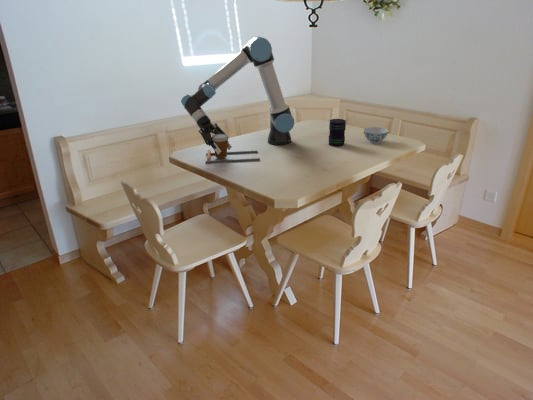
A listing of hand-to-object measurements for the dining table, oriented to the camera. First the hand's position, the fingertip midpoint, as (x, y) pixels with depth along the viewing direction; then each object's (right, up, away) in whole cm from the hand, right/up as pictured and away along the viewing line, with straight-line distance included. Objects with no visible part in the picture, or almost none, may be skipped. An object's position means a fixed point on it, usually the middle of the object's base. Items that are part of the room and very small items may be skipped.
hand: (225, 150), depth 221 cm
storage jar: (+67, +7, +24) cm, 71 cm away
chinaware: (+91, +9, +27) cm, 96 cm away
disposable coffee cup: (-3, -3, +3) cm, 5 cm away
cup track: (+4, -3, +4) cm, 7 cm away
